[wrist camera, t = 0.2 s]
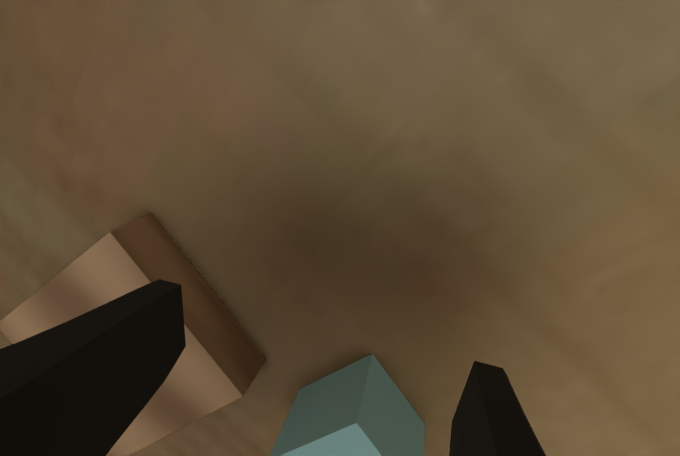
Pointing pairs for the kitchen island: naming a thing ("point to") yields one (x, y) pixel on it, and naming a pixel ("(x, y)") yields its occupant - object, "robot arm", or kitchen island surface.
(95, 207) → the kitchen island surface
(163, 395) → the walnut block
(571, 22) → the kitchen island surface
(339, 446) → the teal cube
